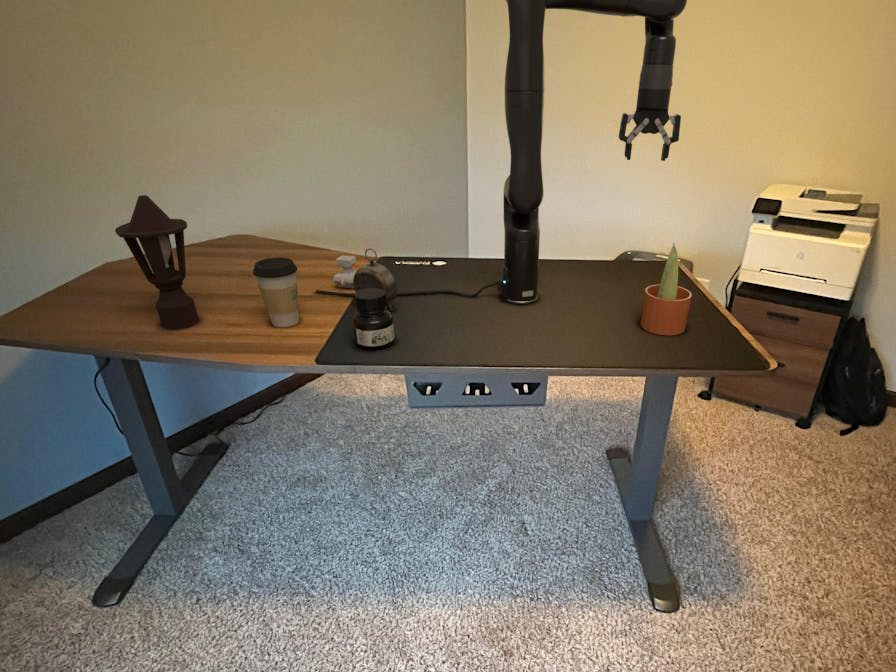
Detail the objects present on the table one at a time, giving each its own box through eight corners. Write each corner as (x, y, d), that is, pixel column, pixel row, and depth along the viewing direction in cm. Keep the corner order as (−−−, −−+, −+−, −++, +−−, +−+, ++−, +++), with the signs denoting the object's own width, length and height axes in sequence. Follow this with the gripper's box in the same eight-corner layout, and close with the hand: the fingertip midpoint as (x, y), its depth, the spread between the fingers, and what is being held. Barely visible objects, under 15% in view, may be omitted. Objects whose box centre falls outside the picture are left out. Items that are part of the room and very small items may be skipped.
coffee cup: (314, 317, 143) (304, 259, 135) (289, 332, 134) (277, 272, 127) (282, 311, 145) (270, 254, 138) (255, 326, 137) (241, 266, 130)
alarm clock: (399, 309, 148) (394, 248, 140) (387, 317, 143) (381, 254, 135) (365, 302, 152) (358, 242, 143) (352, 309, 147) (344, 248, 139)
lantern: (181, 339, 130) (141, 206, 115) (130, 330, 134) (85, 200, 119) (227, 315, 143) (196, 192, 128) (179, 307, 146) (143, 187, 131)
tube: (678, 325, 141) (692, 248, 131) (664, 330, 138) (677, 251, 129) (661, 317, 145) (674, 242, 135) (647, 321, 142) (658, 245, 133)
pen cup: (643, 334, 137) (648, 299, 133) (637, 316, 147) (642, 283, 142) (689, 336, 137) (696, 301, 132) (680, 318, 146) (686, 285, 142)
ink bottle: (357, 354, 126) (350, 303, 120) (350, 338, 133) (343, 289, 127) (400, 347, 129) (396, 297, 123) (391, 331, 136) (387, 284, 130)
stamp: (353, 292, 157) (349, 263, 153) (331, 290, 159) (327, 261, 154) (368, 282, 165) (364, 253, 161) (347, 279, 166) (343, 251, 162)
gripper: (682, 86, 136) (671, 158, 144) (622, 85, 136) (615, 156, 144) (689, 88, 129) (677, 163, 137) (626, 86, 130) (618, 161, 138)
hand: (645, 159), depth 141 cm, fingers open, 8 cm apart
